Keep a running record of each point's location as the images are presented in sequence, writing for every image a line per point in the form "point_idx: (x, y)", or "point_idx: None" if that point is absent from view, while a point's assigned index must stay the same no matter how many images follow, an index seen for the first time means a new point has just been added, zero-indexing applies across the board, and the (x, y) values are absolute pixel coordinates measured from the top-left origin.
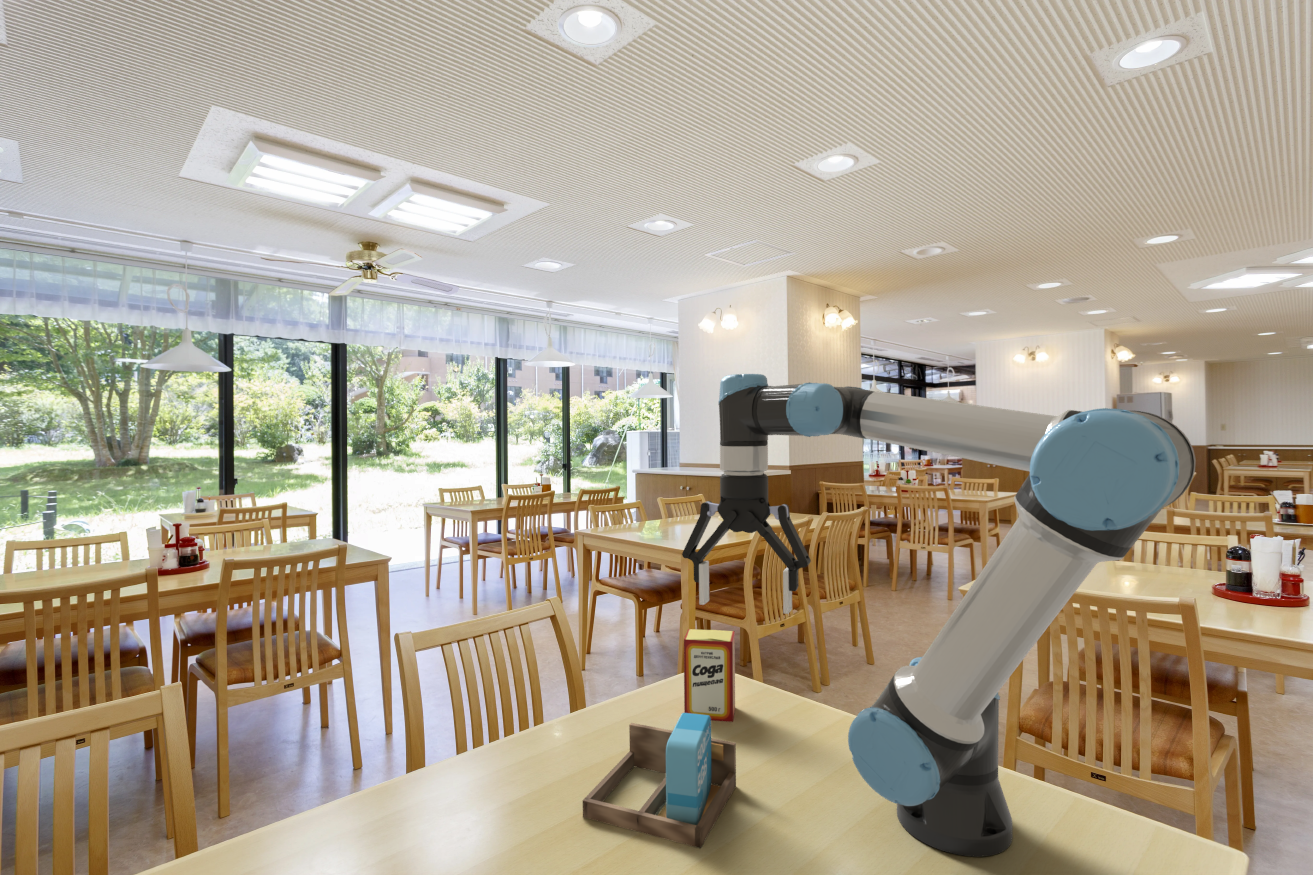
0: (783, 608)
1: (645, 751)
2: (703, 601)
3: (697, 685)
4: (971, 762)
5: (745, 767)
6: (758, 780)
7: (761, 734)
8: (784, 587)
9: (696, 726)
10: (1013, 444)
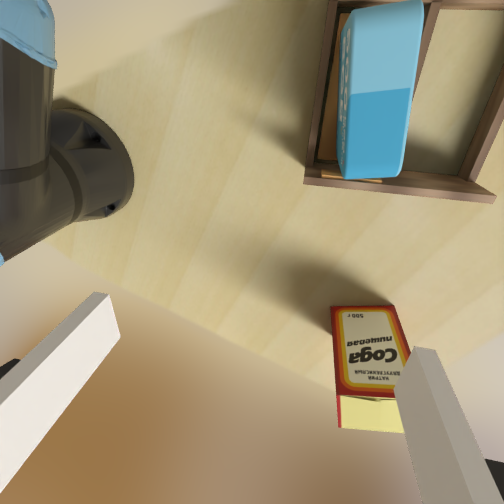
0: (97, 304)
1: (447, 180)
2: (419, 357)
3: (384, 337)
4: None
5: (300, 213)
6: (280, 188)
7: (293, 285)
8: (30, 368)
9: (364, 111)
10: None
